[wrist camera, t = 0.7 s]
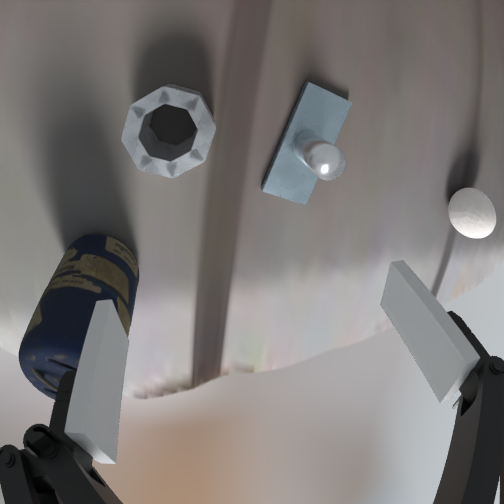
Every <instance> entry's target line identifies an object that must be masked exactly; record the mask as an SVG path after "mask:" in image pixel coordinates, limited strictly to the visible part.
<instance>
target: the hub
mask: <svg viewBox="0 0 504 504" xmlns="http://www.w3.org/2000/svg"><path fill="white" fill-rule="evenodd" d="M163 104H168V105H172V106H175V107H179V108H183V109H186V110H188V112H189V114H190V115H191V117H192V119H193V121H194V123H195V125H196V128H195V131H194V134H193V136H192V137H190V138H189V139H187V140H185V141H183V142H181V143H179V144H177V145H174V144H170V143H166V142H163V141H159V140H158V139H157V137H156V135H155V134H154V132H153V130H152V128H151V127H150V121H151V118H152V115H153V111H154V109H156V108H158V107H160V106H162V105H163ZM215 130H216V125H215V121H214V117H213V115H212V113H211V112H210V110H209V108H208V106H207V104H206V102H205V100H204V98H203V96H202V94H201V92H200V91H196V90H193V89H189V88H186V87H182V86H178V85H175V84H168V85H165V86H163V87H161V88H159V89H157V90H156V91H154V92H152V93H150V94H148V95H147V96H145V97H143V98H142V99H140V100H138V101H137V102H135V103H133V104H132V105H130V108H129V112H128V115H127V119H126V123H125V126H124V130H123V134H122V138H121V141H122V143H123V144H124V146H125V148H126V149H127V151H128V153H129V154H130V156H131V158H132V159H133V161H134V162H135V164H136V166H137V167H138V169H139V170H142V171H146V172H150V173H154V174H158V175H162V176H166V177H170V178H174V177H176V176H178V175H180V174H182V173H184V172H186V171H187V170H189V169H191V168H193V167H195V166H197V165H199V164H201V163H203V162H205V159H206V156H207V153H208V150H209V147H210V144H211V142H212V139H213V136H214V133H215Z"/></svg>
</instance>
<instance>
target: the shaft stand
mask: <svg viewBox="0 0 504 504" xmlns="http://www.w3.org/2000/svg"><path fill="white" fill-rule="evenodd" d="M351 104H352V103H351V102H349V101H347V100H345V99H343V98H341V97H339V96H337V95H335V94H333V93H331V92H329V91H327V90H325V89H323V88H321V87H319V86H316V85H314V84H312V83H310V82H305V84H304V86H303V89H302V91H301V93H300V96H299V98H298V100H297V103H296V105H295V107H294V110H293V112H292V114H291V117H290V119H289V121H288V124H287V126H286V129H285V131H284V133H283V136H282V138H281V140H280V143H279V145H278V148H277V150H276V152H275V155H274V157H273V160H272V162H271V164H270V167H269V169H268V172H267V174H266V176H265V179H264V181H263V184H262V186H261V189H262V191H263V192H266V193H269V194H272V195H276V196H279V197H282V198H285V199H288V200H291V201H294V202H297V203H300V204H303V205H306V203H307V201H308V199H309V197H310V195H311V192H312V190H313V188H314V186H315V184H316V182H317V180H318V177H319V178H321V179H323V180H333V179H336V178H337V177H339V176H340V175H341V174H342V173H343V171H344V170H345V167H346V157H345V154H344V153H343V151H342V150H341V149H339V148H338V147H336V146H335V145H334V142H335V140H336V138H337V136H338V134H339V131H340V129H341V127H342V125H343V122H344V120H345V118H346V116H347V114H348V111H349V109H350V107H351Z"/></svg>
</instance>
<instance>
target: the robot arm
mask: <svg viewBox="0 0 504 504" xmlns="http://www.w3.org/2000/svg"><path fill="white" fill-rule="evenodd" d="M380 305H381V306H382V308H383V309H384V311H385V313H386V314H387V316H388V317H389V319H390V320H391V322H392V323H393V325H394V327H395V328H396V330H397V331H398V333H399V334H400V336H401V338H402V339H403V341H404V343H405V344H406V346H407V347H408V349H409V351H410V352H411V354H412V356H413V357H414V359H415V361H416V362H417V364H418V366H419V367H420V369H421V371H422V372H423V374H424V376H425V377H426V379H427V381H428V382H429V384H430V386H431V388H432V390H433V391H434V393H435V395H436V397H437V398H438V400H439V402H440V403H442V402H444V401H446V400H448V399H450V398H453V397H454V395H455V394H456V392H457V391H458V390H460V392H461V396H460V397H459V399H458V400H457V401H456V402H455V404H454V405H453V407H452V408H453V409H455V407H456V406H457V405H458V409H457V415H456V420H455V425H454V430H453V435H452V440H451V444H450V448H449V452H448V456H447V460H446V463H445V467H444V471H443V474H442V478H441V481H440V484H439V487H438V490H437V494H436V497H435V500H434V502H433V504H494V500H495V495H496V491H497V486H498V482H499V476H500V504H504V361H503V360H502V359H501V358H499V357H497V356H490V355H489V354H488V353H487V351H486V350H485V349H484V347H483V346H482V344H481V343H480V342H479V341H478V339H477V338H476V337H475V335H474V334H473V333H472V332H471V330H470V329H469V327H467V325H466V324H465V322H464V321H463V320H462V318H461V317H460V316H458V315H457V314H455V313H454V312H453V311H449V312H446V311H445V309H444V308H443V307H442V306H441V304H440V303H439V302H438V301H437V299H436V298H435V297H434V296H433V295H432V293H431V292H430V291H429V290H428V288H427V287H426V286H425V285H424V284H423V282H422V281H421V280H420V279H419V278H418V277H417V275H416V274H415V273H414V272H413V271H412V270H411V268H410V267H409V266H408V265H407V264H406V263H405V262H404V260H401V261H396V262H391V264H390V268H389V272H388V276H387V281H386V285H385V289H384V293H383V296H382V300H381V304H380ZM128 346H129V339H128V337H127V335H126V333H125V330H124V328H123V326H122V323H121V321H120V319H119V316H118V314H117V311H116V309H115V306H114V304H113V301H112V299H111V300H101V301H97V302H96V305H95V308H94V311H93V315H92V318H91V321H90V325H89V328H88V331H87V335H86V338H85V342H84V346H83V349H82V353H81V357H80V361H79V365H78V369H77V371H66V372H65V374H64V375H63V377H62V378H61V379H60V382H59V386H58V390H57V394H56V398H55V402H54V406H53V411H52V415H51V420H50V425H49V427H48V426H46V425H44V424H35V425H33V426H31V427H30V428H29V429H28V430H27V431H26V433H25V435H24V439H23V444H24V448H25V449H22V450H18V449H17V448H16V447H15V446H13V445H4V446H3V447H1V448H0V484H1V489H2V493H3V497H4V501H5V504H123V503H122V502H121V501H120V500H119V499H118V497H117V496H116V495H115V494H114V492H113V491H112V490H111V489H110V488H109V486H108V485H107V484H106V483H105V481H104V480H103V479H102V477H101V476H100V475H99V474H98V472H97V471H96V469H95V468H94V467H93V466H92V459H93V458H94V459H95V460H96V461H97V462H98V463H108V464H116V463H117V445H118V431H119V419H120V408H121V399H122V390H123V382H124V374H125V366H126V359H127V352H128Z"/></svg>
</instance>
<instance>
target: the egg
mask: <svg viewBox="0 0 504 504" xmlns="http://www.w3.org/2000/svg"><path fill="white" fill-rule="evenodd" d="M448 210H449V217H450V221H451V223H452V224H453V226H454V227H455V228H456V229H457V230H458V231H459V232H460V233H461V234H463V235H465V236H467V237H471V238H483V237H486V236H487V235H489V234H490V233H491V232H492V231H493V229H494V227H495V224H496V213H495V209H494V207H493V205H492V203H491V201H490V199H489V198H488V197H487V196H486V195H485V194H484V193H482V192H481V191H479V190H477V189H475V188H463V189H460V190H459V191H457V192H456V193H455V194H454V195H453V196H452V197H451V200H450V202H449V208H448Z"/></svg>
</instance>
